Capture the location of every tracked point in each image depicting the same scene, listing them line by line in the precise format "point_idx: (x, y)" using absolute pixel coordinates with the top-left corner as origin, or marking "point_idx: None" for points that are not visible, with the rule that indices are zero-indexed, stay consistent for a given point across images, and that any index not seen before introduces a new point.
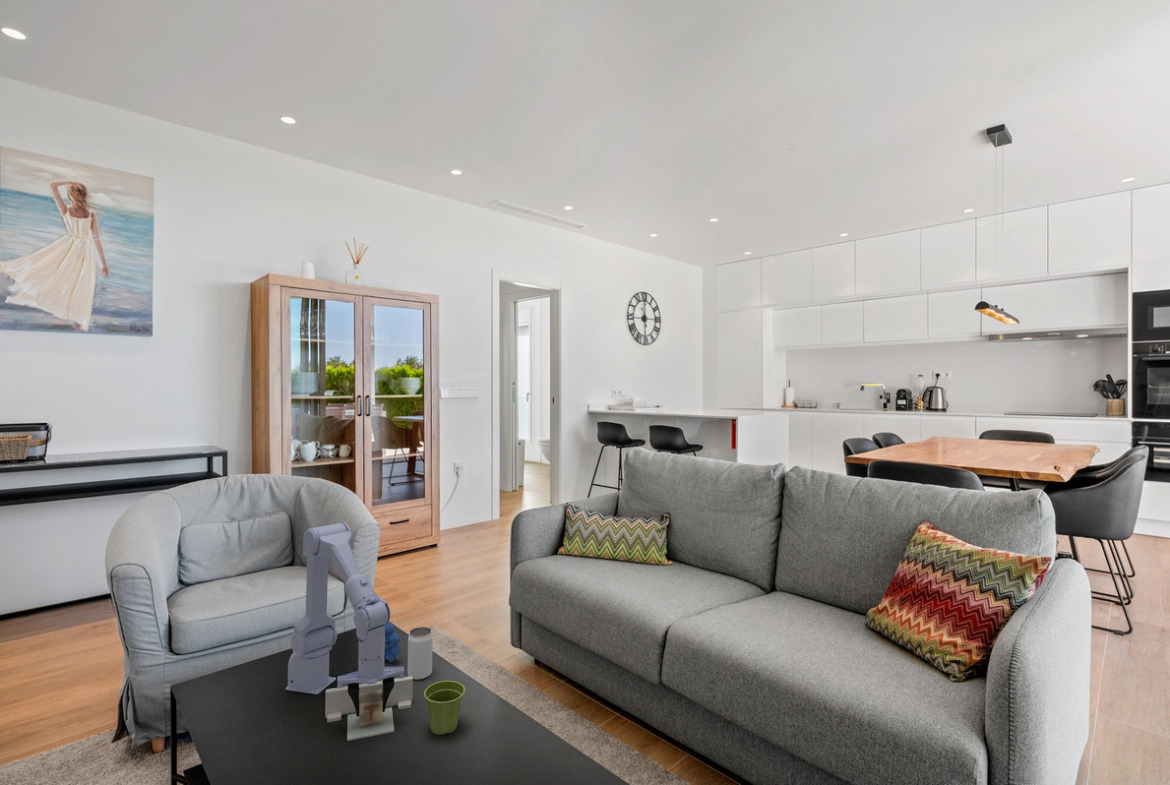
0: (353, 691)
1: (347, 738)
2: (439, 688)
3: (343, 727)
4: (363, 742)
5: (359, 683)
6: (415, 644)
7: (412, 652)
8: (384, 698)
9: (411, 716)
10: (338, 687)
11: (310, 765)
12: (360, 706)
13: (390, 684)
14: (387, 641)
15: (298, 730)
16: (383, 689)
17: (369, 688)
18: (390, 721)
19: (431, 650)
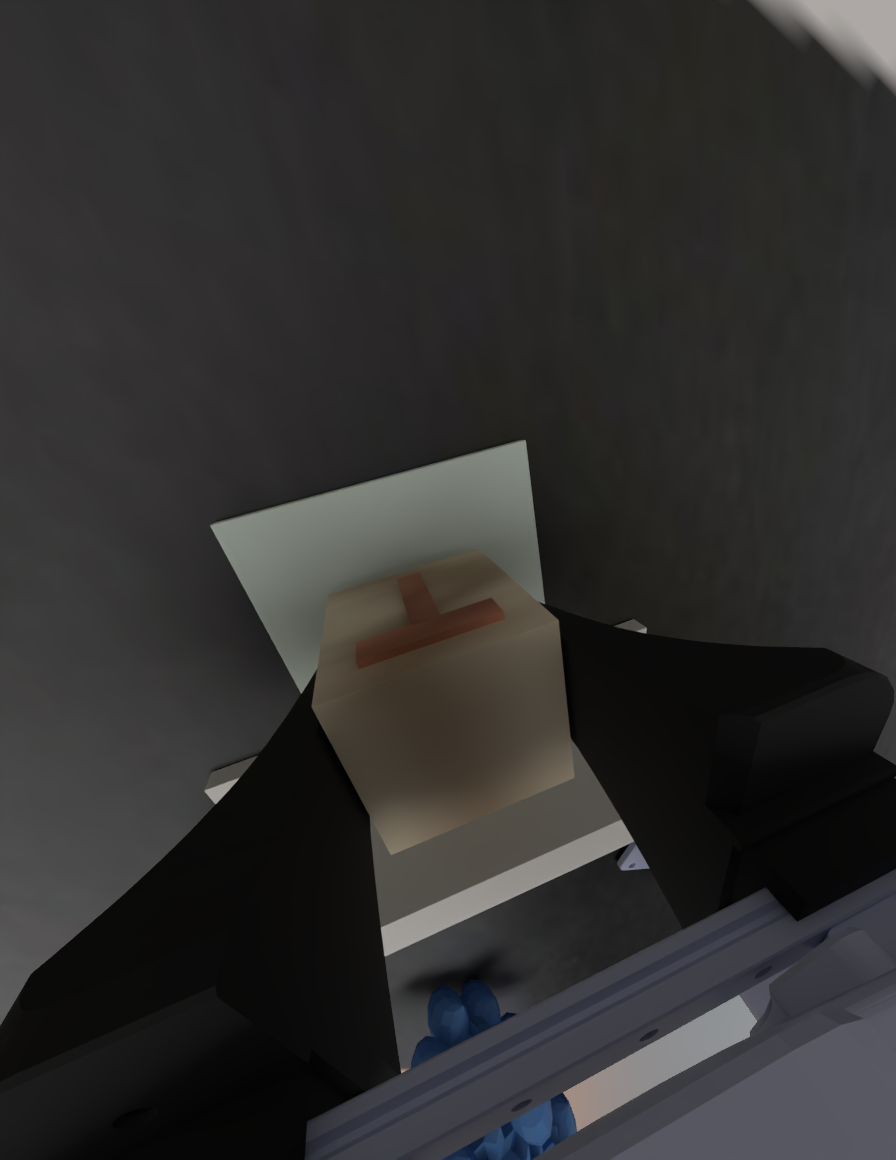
0: (830, 700)
1: (525, 448)
2: None
3: (557, 580)
4: (410, 409)
5: (748, 900)
6: None
7: None
8: (297, 742)
9: (163, 697)
10: None
11: (713, 154)
12: (538, 611)
13: (11, 1098)
14: (483, 1136)
15: (742, 558)
16: (260, 872)
17: (499, 847)
18: (286, 628)
19: None
